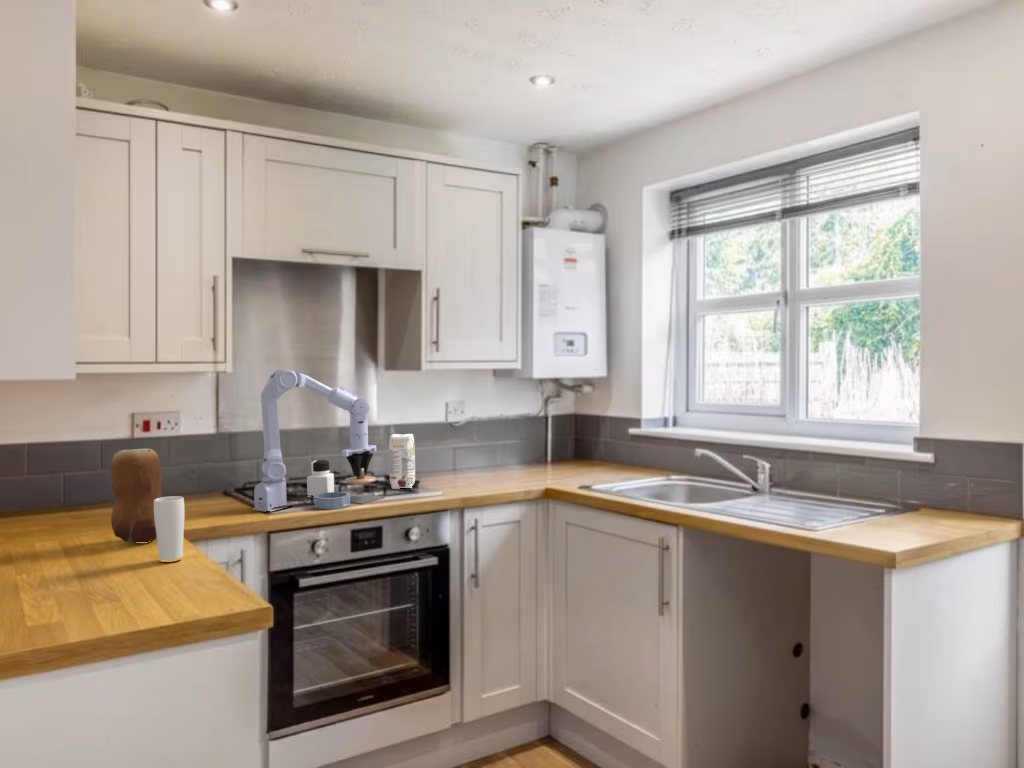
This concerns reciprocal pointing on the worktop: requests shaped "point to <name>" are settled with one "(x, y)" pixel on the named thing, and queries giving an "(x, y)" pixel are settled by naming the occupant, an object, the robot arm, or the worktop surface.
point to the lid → (360, 478)
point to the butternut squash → (135, 494)
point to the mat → (364, 498)
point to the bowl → (332, 500)
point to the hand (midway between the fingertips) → (360, 475)
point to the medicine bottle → (320, 478)
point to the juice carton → (402, 461)
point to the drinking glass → (169, 526)
